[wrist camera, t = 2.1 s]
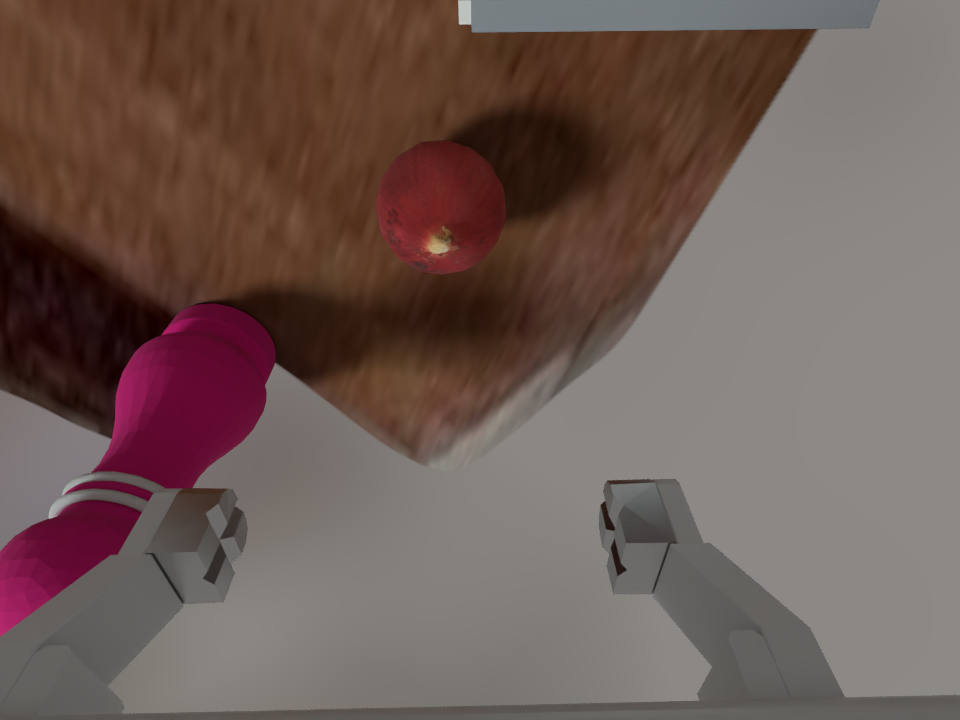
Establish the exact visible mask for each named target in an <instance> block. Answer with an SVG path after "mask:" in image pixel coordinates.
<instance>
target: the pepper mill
mask: <svg viewBox="0 0 960 720" xmlns="http://www.w3.org/2000/svg"><path fill="white" fill-rule="evenodd" d="M275 359H276V352H275V346H274V343H273V341H272V339H271V337H270V335H269V333H268V332H267V330H266V329H265V328H264V327H263V326H262V325H261V324H260V323H259V322H258V321H257V320H256V319H254V318H252V317H251V316H249V315H248V314H246V313H244V312H242V311H240V310H238V309H235V308H233V307H230V306H225V305H220V304H199V305H195V306H191V307H189V308H187V309H184V310H183V311H181V312H180V313H179V314H178V315H177V316H176V317H175V318H174V319H173V321H172V322H171V323H170V324H169V326H168V327H167V328H166V330H165V331H164V333H163V334H162V335H161V336H159V337H156V338H154V339H151V340H150V341H148V342H146V343H145V344H144V345H142V346H141V347H140V348H139V349H138V350H137V351H136V352H135V353H134V355H133V356H132V358H131V359H130V361H129V363H128V364H127V366H126V368H125V369H124V371H123V373H122V376H121V379H120V383H119V386H118V390H117V394H116V411H115V424H114V431H113V437H112V440H111V443H110V446H109V449H108V450H107V452H106V454H105V455H104V457H103V459H102V460H101V462H100V464H99V465H98V466H97V467H96V468H95V469H94V470H93V471H92V472H91V473H88V474H84V475H82V476H79V477H77V478H75V479H73V480H72V481H71V482H69V483H68V484H67V486H66V487H65V489H64V491H63V494H62V497H60V498H59V499H58V500H56V502H55V503H54V504H53V505H52V507H51V509H50V512H49V519H47V520H44V521H42V522H39V523H37V524H34V525H32V526H30V527H29V528H27V529H26V530H24V531H22V532H21V533H20V534H18V535H16V536H15V537H14V538H13V539H12V540H11V541H10V542H9V543H8V544H7V545H6V546H5V547H4V548H3V549H2V550H1V551H0V637H1V636H2V635H3V634H5V633H6V632H7V631H9V630H10V629H11V628H13V627H14V626H15V625H17V624H18V623H19V622H21V621H22V620H24V619H25V618H26V617H28V616H29V615H30V614H32V613H33V612H34V611H36V610H37V609H38V608H40V607H41V606H42V605H44V604H45V603H46V602H48V601H49V600H51V599H52V598H53V597H55V596H56V595H57V594H59V593H60V592H61V591H63V590H64V589H65V588H67V587H68V586H69V585H71V584H72V583H73V582H75V581H76V580H78V579H79V578H80V577H82V576H83V575H84V574H86V573H87V572H88V571H90V570H91V569H92V568H94V567H95V566H96V565H98V564H99V563H100V562H102V561H103V560H105V559H106V558H107V557H109V556H110V555H118V553H119V551H120V550H121V548H122V546H123V545H124V543H125V541H126V539H127V538H128V536H129V534H130V533H131V531H132V529H133V527H134V526H135V524H136V522H137V521H138V519H139V517H140V515H141V514H142V512H143V510H144V509H145V507H146V505H147V503H148V502H149V500H150V498H151V497H152V495H153V494H154V493H155V492H156V491H158V490H159V489H169V488H193V486H194V484H195V482H196V481H197V479H198V477H199V476H200V475H201V474H202V473H203V472H204V471H205V470H206V468H207V467H209V466H210V465H211V464H212V463H214V462H215V461H216V460H218V459H219V458H220V457H222V456H224V455H225V454H226V453H228V452H229V451H230V450H232V449H233V448H234V447H236V446H237V445H238V444H240V443H241V442H242V441H243V440H244V439H245V438H246V437H247V435H249V433H250V432H251V431H252V430H253V429H254V427H255V425H256V423H257V422H258V420H259V418H260V416H261V415H262V413H263V410H264V407H265V403H266V388H265V384H266V382H267V380H268V378H269V375H270V373H271V371H272V369H273V367H274V364H275Z"/></svg>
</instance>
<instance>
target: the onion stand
mask: <svg viewBox="0 0 960 720" xmlns="http://www.w3.org/2000/svg"><path fill="white" fill-rule="evenodd" d="M878 2H879V0H458V4H459V24H471V27H472V32H552V31H647V30H742V29H832V28H833V29H837V28H869V27H870V24H871V21H872V18H873V16H874V13H875V10H876V7H877V5H878Z"/></svg>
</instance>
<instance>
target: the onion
mask: <svg viewBox="0 0 960 720" xmlns="http://www.w3.org/2000/svg"><path fill="white" fill-rule="evenodd" d="M376 209H377V215H378V221H379V226H380V232H381V234H382V235H383V237H384V238H385V240H386V241H387V243H388V244H389V246H390V247H391V249H392V250H393V252H394V253H395V255H396V256H397V257H398V258H399V259H401V260H402V261H404V262H405V263H407V264H408V265H410V266H411V267H413V268H414V269H416V270H417V271H419V272H427V273H434V274H442V275H443V274H448V273H454V272H461V271H465V270H466V269H468V268H470V267H472V266H474V265H475V264H477V263H479V262H481V261H482V260H483V259H484V258H485V257H486V256H487V254H488V253H489V252H490V250H491V249H492V248H493V247H494V245H495V244H496V242H497V241H498V239H499V236H500V233H501V231H502V228H503V225H504V223H505V220H506V204H505V193H504V188H503V186H502V184H501V182H500V180H499V179H498V177H497V175H496V173H495V171H494V169H493V168H492V166H491V164H490V163H489V162H488V161H487V160H486V159H484V158H483V157H482V156H481V155H479V154H478V153H477V152H476V151H474V150H473V149H472V148H470V147H467V146H464V145H461V144H458V143H455V142H452V141H449V140H442V141H429V142H421V143H420V144H418V145H416V146H415V147H413V148H411V149H409V150H408V151H406V152H404V153H402V154H401V155H399V156H398V157H397V158H396V159H395V160H394V162H393V163H392V165H391V166H390V168H389V169H388V171H387V172H386V173H385V175H384V176H383V178H382V181H381V185H380V189H379V193H378V197H377V200H376Z"/></svg>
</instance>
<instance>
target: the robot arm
mask: <svg viewBox="0 0 960 720" xmlns="http://www.w3.org/2000/svg"><path fill="white" fill-rule="evenodd" d="M603 493H604V497H605V502H603V504H601V505H600V512H599V530H600V537H601V542H602V547H603V548H604V549H605V550H606V551H607V552H608V553H609V557H608V562H607V569H608V573H609V577H610V581H611V585H612V590H613V594H653V597H654V598H655V600H656V601H657V602H658V603H659V604H660V606H661V607H662V608H663V609H664V610H665V612H666V613H667V614H668V615H669V616H670V617H671V618H672V620H673V621H674V622H675V623H676V625H678V627H679V628H680V629H681V630H682V632H683V633H684V634H685V635H686V636H687V638H688V639H689V640H690V641H691V642H692V643H693V644H694V646H695V647H696V648H697V649H698V650H699V652H700V653H701V654H702V655H703V656H704V658H705V659H706V660H707V661H708V662H709V664H710V665H711V666H712V668H711V670H710V672H709V674H708V675H707V677H706V679H705V681H704V683H703V685H702V687H701V688H700V690H699V692H698V697H699V701H670V702H627V703H626V702H625V703H582V704H581V703H580V704H541V705H540V704H539V705H538V704H537V705H493V706H491V705H490V706H450V707H449V706H447V707H404V708H403V707H401V708H359V709H358V708H356V709H315V710H314V709H311V710H268V711H226V712H225V711H224V712H185V713H184V712H180V713H138V714H122V711H123V709H124V705H123V702H122V700H121V699H120V698H119V697H118V696H117V695H116V694H115V693H114V692H113V691H112V690H111V689H110V688H109V687H108V685H109V684H110V683H111V682H112V681H113V680H114V679H115V678H116V677H117V676H118V675H119V674H120V672H121V671H122V670H123V669H124V668H125V667H126V666H127V665H128V664H129V663H130V662H131V661H132V660H133V659H134V658H135V657H136V656H137V655H138V654H139V652H141V651H142V649H143V648H144V647H145V646H146V645H147V644H148V643H149V642H150V641H151V640H152V639H153V638H154V637H155V636H156V635H157V634H158V633H159V632H160V631H161V629H162V628H163V627H164V626H165V625H166V624H167V623H168V622H169V621H170V620H171V619H172V618H173V617H174V616H175V615H176V614H177V613H178V612H179V611H180V610H181V609H182V608H183V604H193V603H215V602H224V600H225V597H226V595H227V592H228V590H229V587H230V584H231V582H232V579H233V576H234V570H233V568H232V565H231V563H233V562H234V561H235V560H236V559H237V558H238V557H239V556H241V555H242V552H243V549H244V547H245V544H246V538H247V530H248V528H247V520H246V517H245V515H244V512H243V511H241V510H240V509H238V508H237V507H235V505H236V502H237V500H238V498H237V496H236V494H235V492H234V490H233V489H209V488H208V489H207V488H205V489H204V488H169V489H159V490H158V491H156V492H155V493H154V494H153V495H152V497H151V498H150V500H149V502H148V503H147V505H146V507H145V509H144V510H143V512H142V514H141V515H140V517H139V519H138V521H137V522H136V524H135V526H134V527H133V529H132V531H131V533H130V534H129V536H128V538H127V539H126V541H125V543H124V545H123V546H122V548H121V550H120V551H119V553H118V555H110V556H109V557H107V558H106V559H105V560H103V561H102V562H100V563H99V564H98V565H96V566H95V567H94V568H92V569H91V570H90V571H88V572H87V573H86V574H84V575H83V576H82V577H80V578H79V579H78V580H76V581H75V582H73V583H72V584H71V585H69V586H68V587H67V588H65V589H64V590H63V591H61V592H60V593H59V594H57V595H56V596H55V597H53V598H52V599H51V600H49V601H48V602H46V603H45V604H44V605H42V606H41V607H40V608H38V609H37V610H36V611H34V612H33V613H32V614H30V615H29V616H28V617H26V618H25V619H24V620H22V621H21V622H19V623H18V624H17V625H15V626H14V627H13V628H11V629H10V630H9V631H7V632H6V633H5V634H3V635H2V636H1V637H0V720H960V695H933V696H889V697H888V696H887V697H845V696H844V694H843V693H842V690H841V688H840V687H839V685H838V682H837V681H836V679H835V677H834V675H833V673H832V671H831V669H830V667H829V665H828V663H827V661H826V659H825V657H824V655H823V653H822V651H821V649H820V647H819V645H818V643H817V641H816V639H815V637H814V635H813V633H812V631H811V629H810V627H808V626H807V625H806V624H805V623H804V622H803V621H802V620H800V619H799V618H798V617H797V616H796V615H794V614H793V613H792V612H791V611H789V609H787V608H786V607H785V606H784V605H782V604H781V603H780V602H779V601H778V600H777V599H775V598H774V597H773V596H772V595H771V594H770V593H769V592H767V591H766V590H765V589H764V588H763V587H762V586H760V585H759V584H758V583H757V582H756V581H754V580H753V579H752V578H751V577H750V576H748V575H747V574H746V573H745V572H744V571H743V570H741V569H740V568H739V567H738V566H737V565H736V564H734V563H733V562H732V561H731V560H730V559H729V558H727V557H726V556H725V555H724V554H723V553H722V552H720V551H719V550H718V549H717V548H716V547H714V546H713V545H712V544H711V543H703V540H702V538H701V536H700V533H699V531H698V528H697V526H696V523H695V521H694V518H693V516H692V513H691V511H690V509H689V506H688V504H687V501H686V499H685V496H684V494H683V491H682V489H681V486H680V484H679V482H678V481H677V480H676V479H660V480H650V479H641V480H612V481H606V483H605V485H604V490H603Z"/></svg>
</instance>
